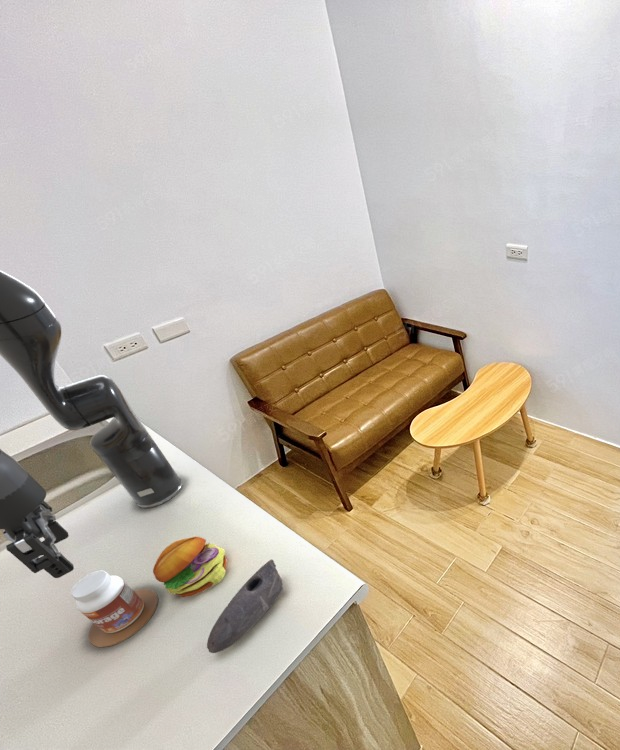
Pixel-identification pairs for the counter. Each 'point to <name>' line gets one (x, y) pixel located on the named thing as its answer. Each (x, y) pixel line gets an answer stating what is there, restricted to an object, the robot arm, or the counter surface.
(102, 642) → the coaster
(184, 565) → the cheeseburger
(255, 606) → the perforated stone tool
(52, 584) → the counter surface
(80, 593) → the pill bottle
